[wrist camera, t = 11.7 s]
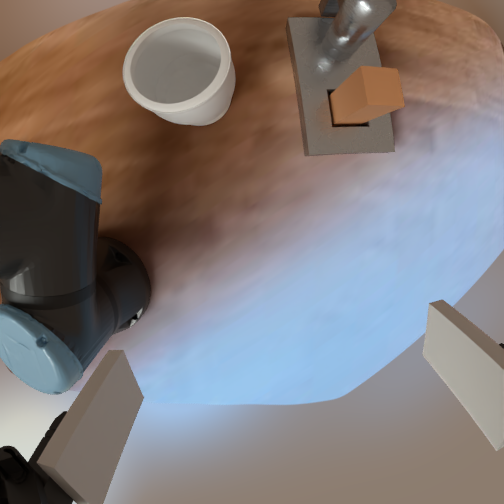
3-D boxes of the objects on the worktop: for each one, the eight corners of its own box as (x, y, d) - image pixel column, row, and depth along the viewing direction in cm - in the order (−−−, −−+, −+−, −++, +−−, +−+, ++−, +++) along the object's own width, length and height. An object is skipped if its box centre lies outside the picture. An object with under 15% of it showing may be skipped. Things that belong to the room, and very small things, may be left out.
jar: (150, 101, 37) (102, 72, 22) (202, 51, 35) (178, 0, 20) (200, 148, 39) (171, 136, 24) (255, 97, 37) (255, 57, 22)
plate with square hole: (304, 156, 39) (342, 144, 22) (282, 15, 33) (297, -59, 16) (384, 152, 39) (459, 146, 21) (359, 17, 33) (405, -43, 15)
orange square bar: (329, 126, 38) (367, 104, 23) (325, 99, 37) (360, 65, 22) (355, 126, 38) (404, 106, 23) (352, 99, 37) (397, 68, 22)
